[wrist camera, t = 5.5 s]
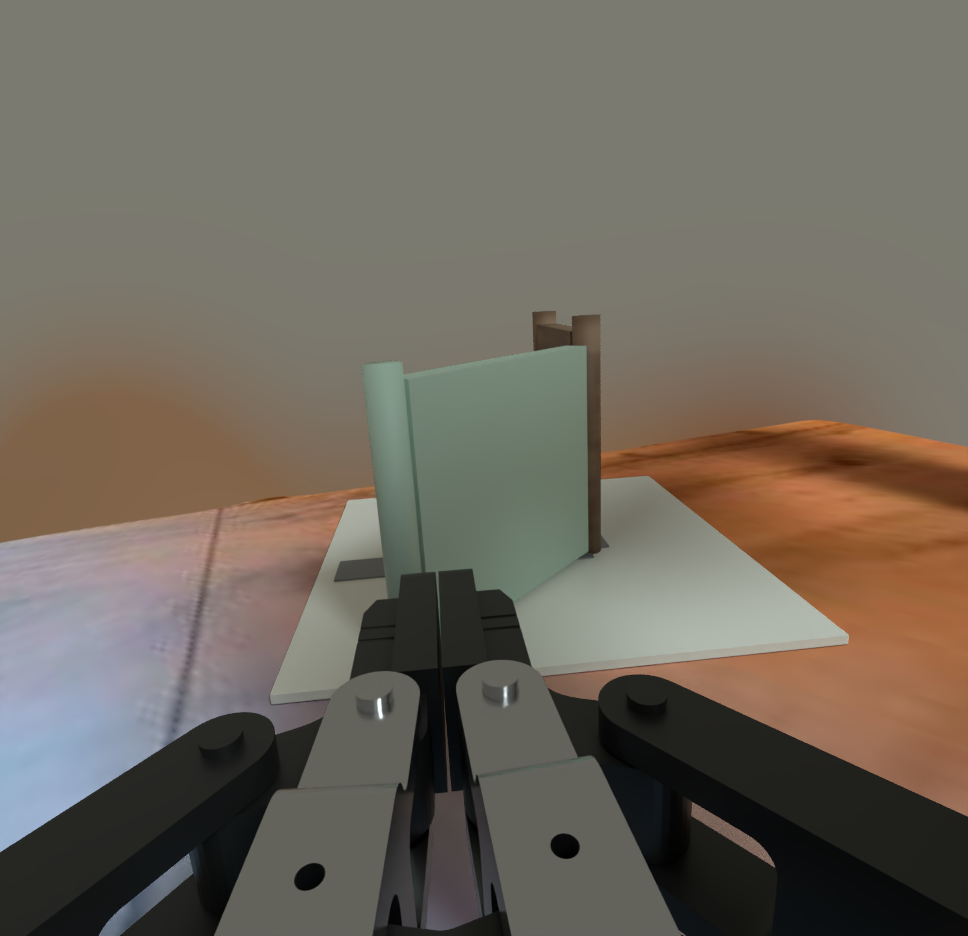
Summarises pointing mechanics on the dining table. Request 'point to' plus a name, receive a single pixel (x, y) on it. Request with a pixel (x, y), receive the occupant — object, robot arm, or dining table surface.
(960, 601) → the dining table surface
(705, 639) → the card
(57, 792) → the dining table surface
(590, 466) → the fence fixed
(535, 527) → the fence gate
